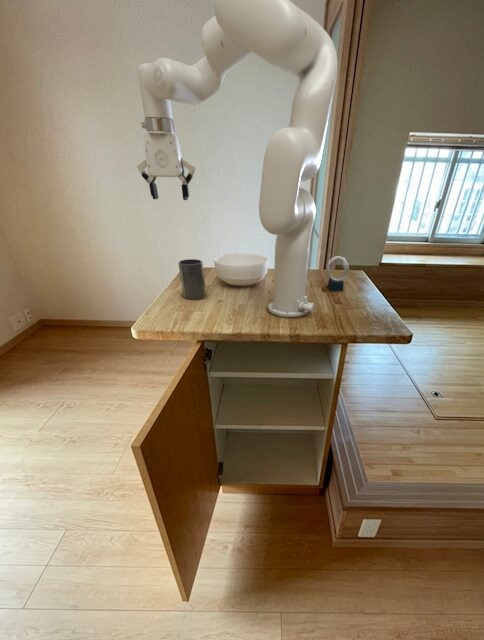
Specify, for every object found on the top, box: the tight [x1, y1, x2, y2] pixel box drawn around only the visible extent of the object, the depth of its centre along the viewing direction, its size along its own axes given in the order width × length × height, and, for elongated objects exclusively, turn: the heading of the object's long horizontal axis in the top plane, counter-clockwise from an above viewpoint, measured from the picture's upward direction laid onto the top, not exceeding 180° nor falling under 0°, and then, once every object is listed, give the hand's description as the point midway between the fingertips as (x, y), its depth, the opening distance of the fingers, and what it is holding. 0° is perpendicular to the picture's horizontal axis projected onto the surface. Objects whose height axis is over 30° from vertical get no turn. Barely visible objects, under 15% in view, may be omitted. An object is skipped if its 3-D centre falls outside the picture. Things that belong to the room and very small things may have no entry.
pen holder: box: [177, 258, 207, 301], centre depth 103 cm, size 7×8×11 cm
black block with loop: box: [326, 255, 351, 292], centre depth 112 cm, size 6×8×11 cm
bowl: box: [213, 252, 269, 287], centre depth 117 cm, size 20×20×8 cm
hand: (170, 199), depth 99 cm, fingers open, 9 cm apart
